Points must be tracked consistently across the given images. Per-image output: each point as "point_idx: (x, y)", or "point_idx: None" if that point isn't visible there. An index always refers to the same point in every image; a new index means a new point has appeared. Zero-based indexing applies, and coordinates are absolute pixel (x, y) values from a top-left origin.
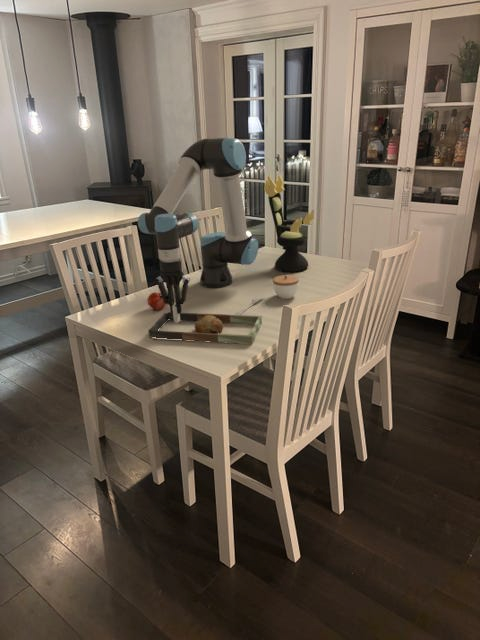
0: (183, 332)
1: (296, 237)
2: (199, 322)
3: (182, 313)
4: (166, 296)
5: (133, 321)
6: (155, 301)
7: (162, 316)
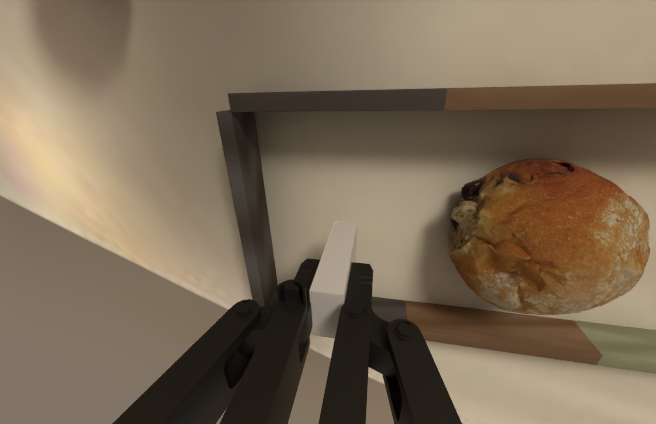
0: None
1: None
2: (499, 302)
3: (331, 104)
4: (218, 351)
5: (107, 141)
6: None
7: (230, 165)
